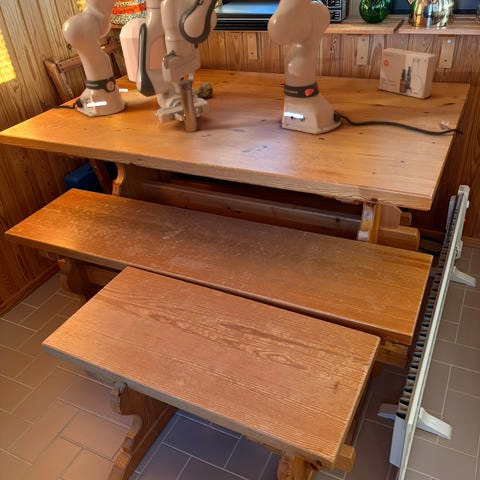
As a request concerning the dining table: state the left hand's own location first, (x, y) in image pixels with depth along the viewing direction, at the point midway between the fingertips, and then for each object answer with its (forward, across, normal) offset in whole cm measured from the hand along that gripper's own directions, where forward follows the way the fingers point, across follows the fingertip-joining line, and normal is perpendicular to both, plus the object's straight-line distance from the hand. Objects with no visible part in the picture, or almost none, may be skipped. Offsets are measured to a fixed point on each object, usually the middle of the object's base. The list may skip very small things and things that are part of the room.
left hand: (190, 116), depth 171 cm
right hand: (-1, 0, -10) cm, 11 cm away
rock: (-36, +18, +5) cm, 40 cm away
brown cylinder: (-1, 0, +5) cm, 5 cm away
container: (-87, +10, +5) cm, 88 cm away
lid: (-1, 0, -12) cm, 12 cm away
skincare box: (+18, +86, +5) cm, 88 cm away
